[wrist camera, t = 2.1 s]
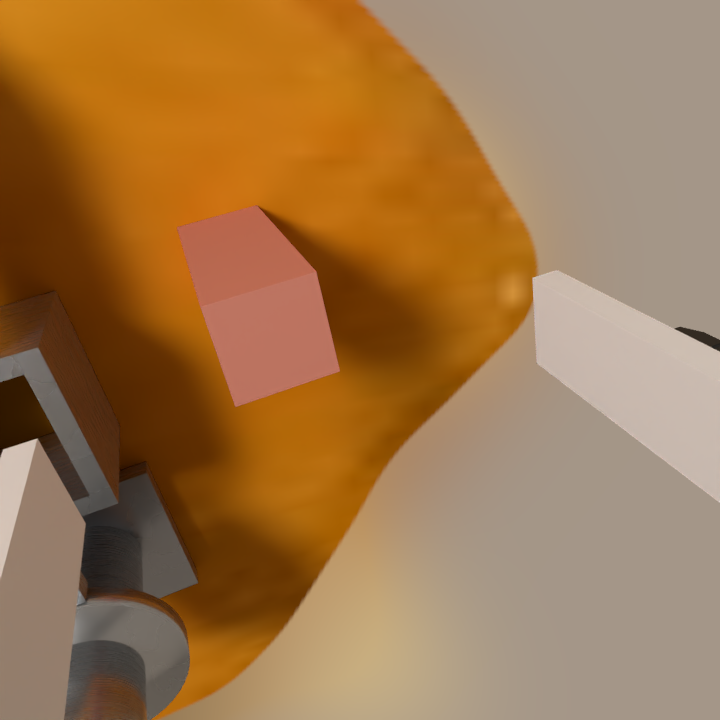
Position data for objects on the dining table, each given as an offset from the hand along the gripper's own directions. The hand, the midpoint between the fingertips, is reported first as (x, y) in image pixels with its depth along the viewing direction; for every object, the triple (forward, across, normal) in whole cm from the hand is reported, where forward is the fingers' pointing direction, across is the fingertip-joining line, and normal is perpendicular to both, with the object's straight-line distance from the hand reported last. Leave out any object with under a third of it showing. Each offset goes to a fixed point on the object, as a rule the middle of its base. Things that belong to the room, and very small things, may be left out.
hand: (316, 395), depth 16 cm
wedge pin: (+14, 0, 0) cm, 14 cm away
